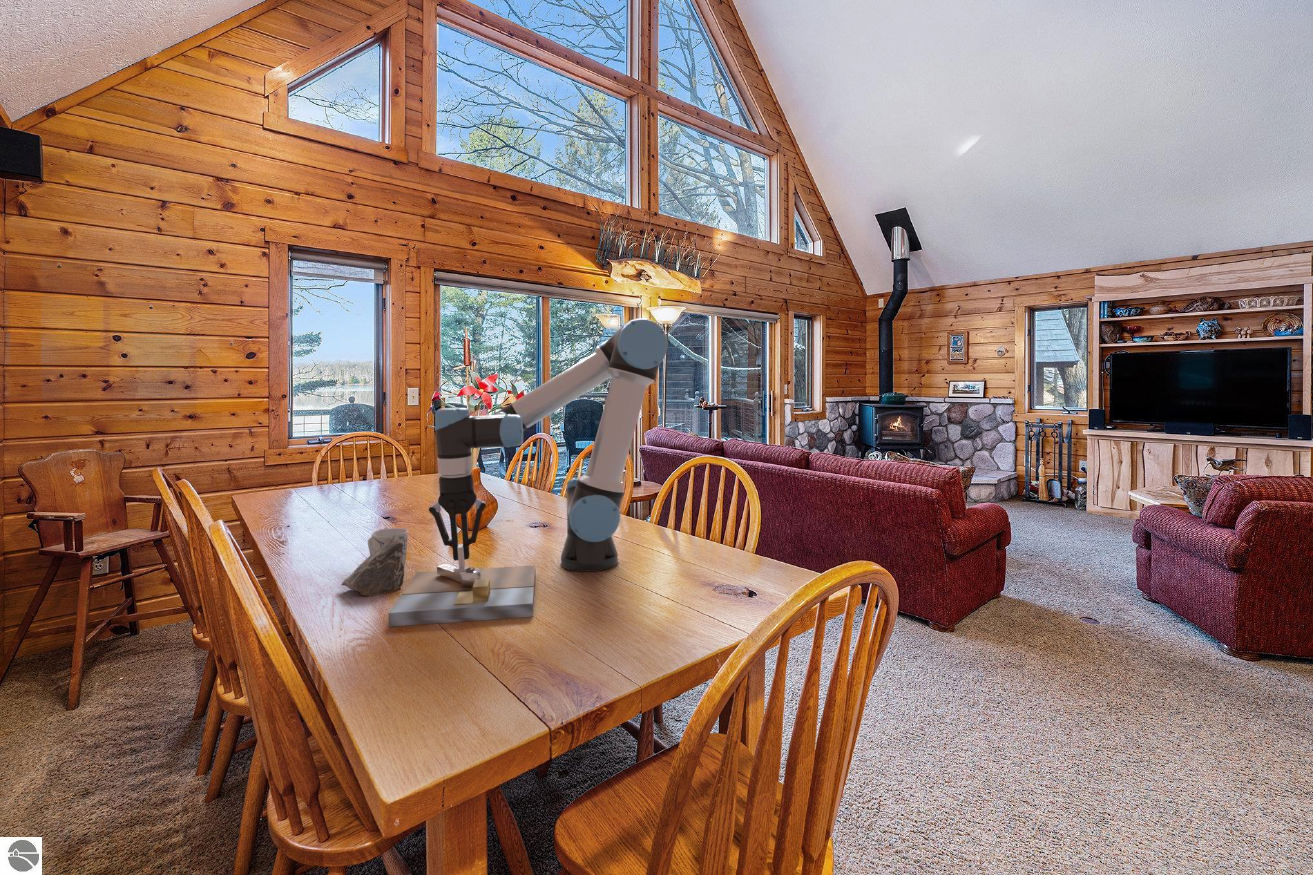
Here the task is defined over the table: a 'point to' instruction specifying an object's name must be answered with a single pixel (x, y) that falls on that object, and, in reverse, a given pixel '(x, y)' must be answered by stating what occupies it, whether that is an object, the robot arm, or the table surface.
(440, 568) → the latch bar
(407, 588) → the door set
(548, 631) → the table surface
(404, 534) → the mug
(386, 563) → the rock
